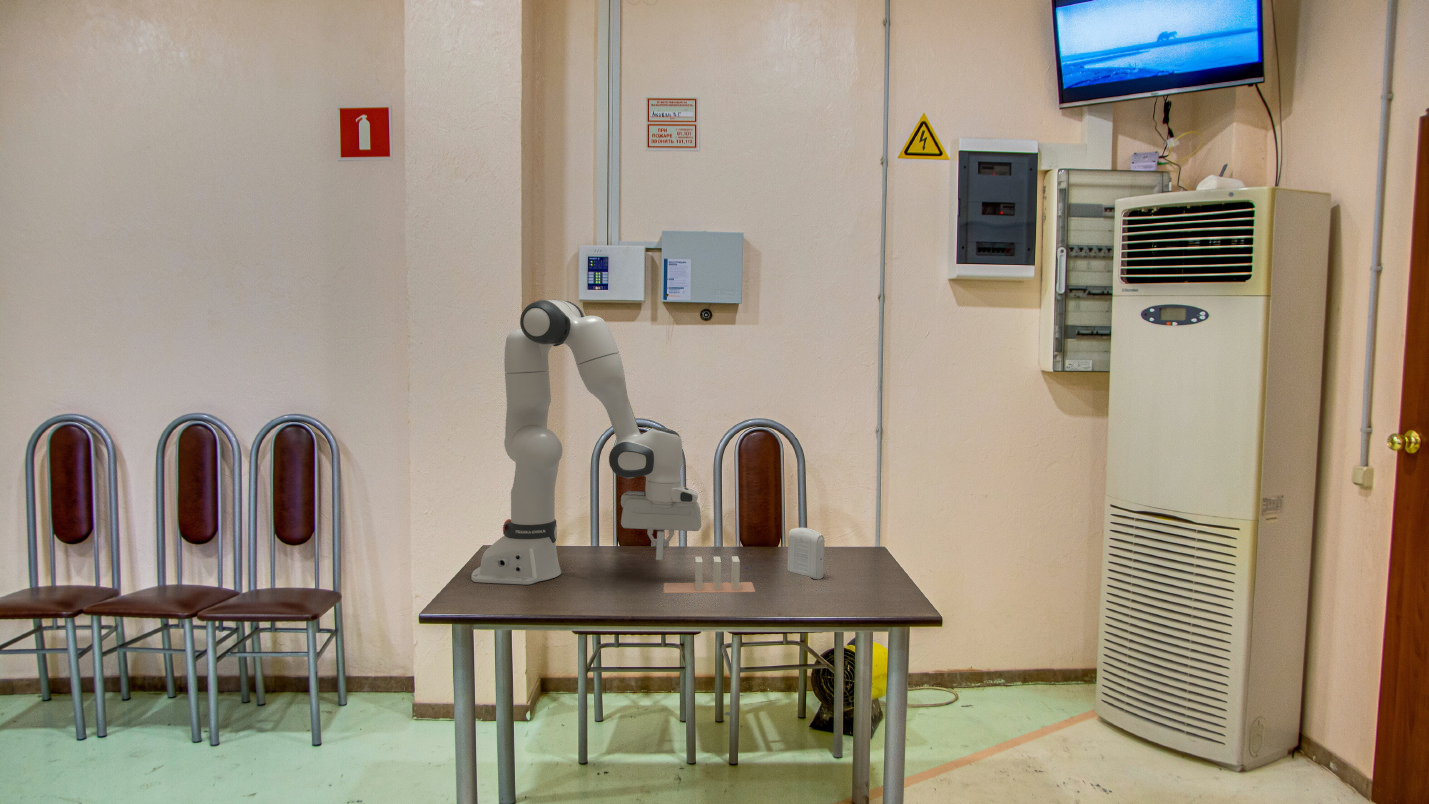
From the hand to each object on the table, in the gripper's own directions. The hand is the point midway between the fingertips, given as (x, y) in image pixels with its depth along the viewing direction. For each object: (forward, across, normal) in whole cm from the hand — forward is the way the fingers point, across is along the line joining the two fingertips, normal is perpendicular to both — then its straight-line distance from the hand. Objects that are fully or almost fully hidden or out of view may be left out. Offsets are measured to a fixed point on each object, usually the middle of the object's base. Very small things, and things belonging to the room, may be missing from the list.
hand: (660, 546), depth 197 cm
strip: (+9, +12, -7) cm, 17 cm away
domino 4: (+8, +19, -7) cm, 22 cm away
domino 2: (+8, +10, -7) cm, 14 cm away
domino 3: (+8, +14, -7) cm, 18 cm away
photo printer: (+7, +38, +6) cm, 39 cm away
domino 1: (+3, 0, 0) cm, 3 cm away
